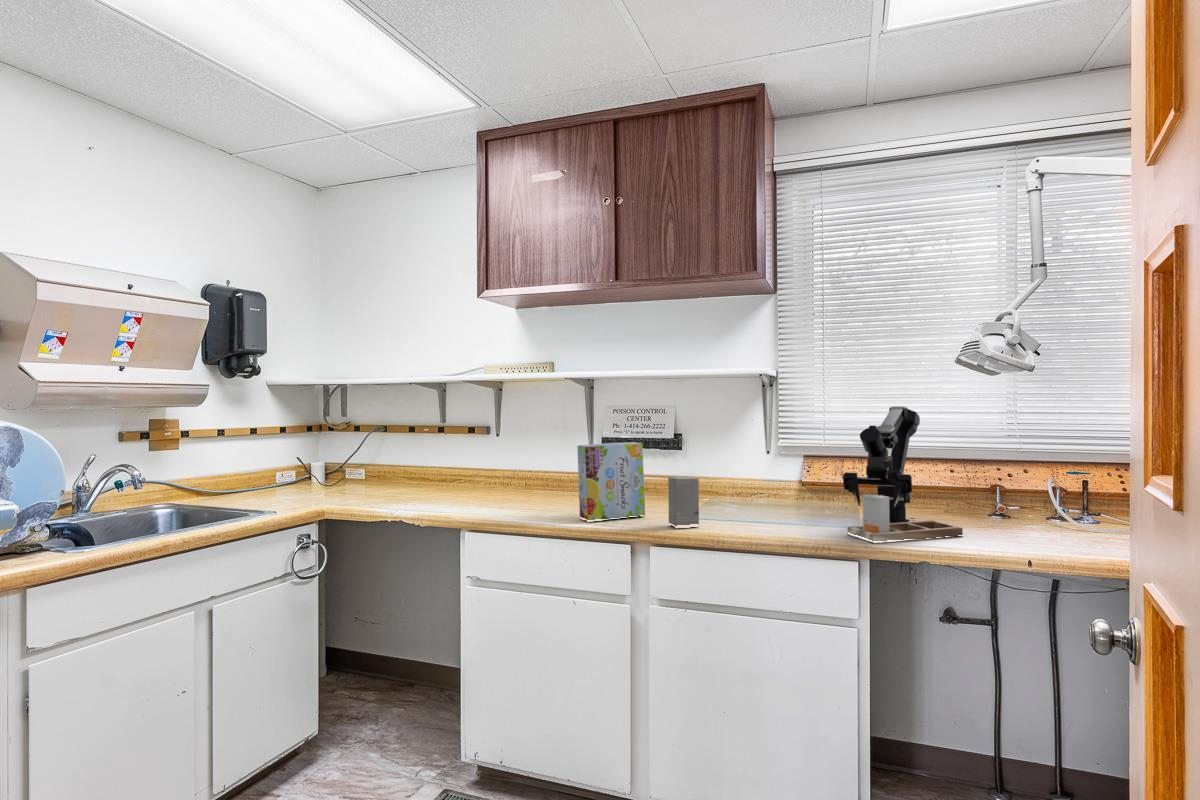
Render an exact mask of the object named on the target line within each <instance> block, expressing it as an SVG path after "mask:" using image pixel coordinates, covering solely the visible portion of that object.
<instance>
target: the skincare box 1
mask: <svg viewBox="0 0 1200 800" xmlns="http://www.w3.org/2000/svg"><path fill="white" fill-rule="evenodd" d="M667 480H668V524H669V523H671V524H673V525H675V526H677V525H690V524H699V525H700V517H699V516H700V497H699V495H700V493H699V492H700V491H699V490H700V489H699V487H700V485H699V483H700V482H699V480H700V479H699V477H693V476H671V477H670V476H669V477H668V478H667Z"/></svg>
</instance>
